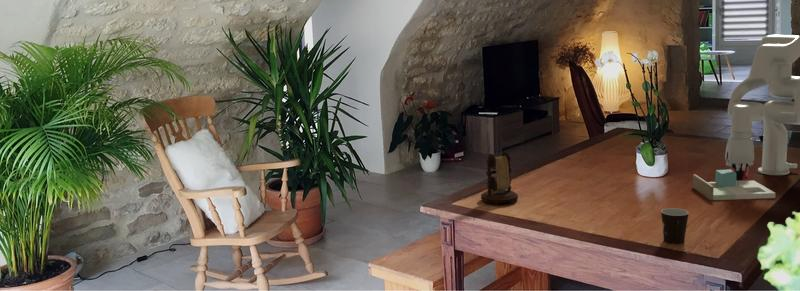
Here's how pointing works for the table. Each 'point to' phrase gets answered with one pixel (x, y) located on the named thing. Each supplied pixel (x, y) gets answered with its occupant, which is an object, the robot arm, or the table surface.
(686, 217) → the coffee mug
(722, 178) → the block
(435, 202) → the table surface
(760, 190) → the tray
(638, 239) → the table surface
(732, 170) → the soda can
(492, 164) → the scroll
